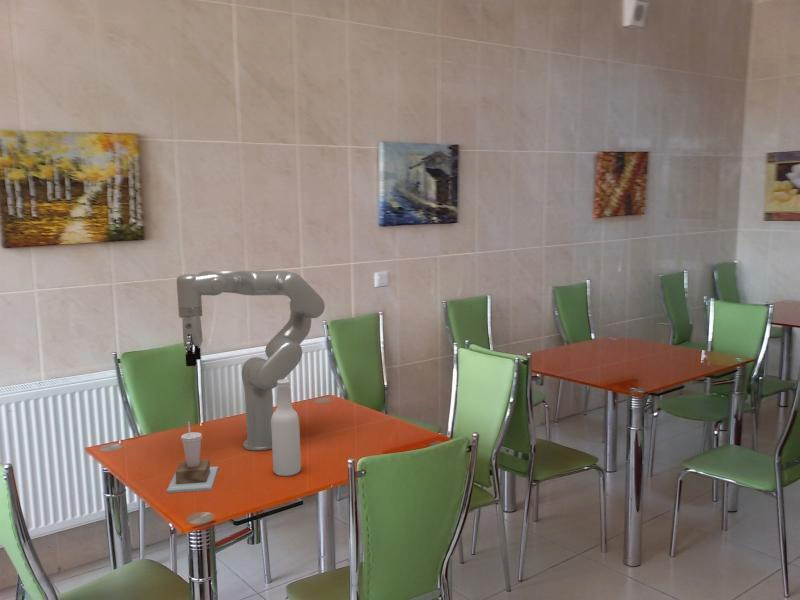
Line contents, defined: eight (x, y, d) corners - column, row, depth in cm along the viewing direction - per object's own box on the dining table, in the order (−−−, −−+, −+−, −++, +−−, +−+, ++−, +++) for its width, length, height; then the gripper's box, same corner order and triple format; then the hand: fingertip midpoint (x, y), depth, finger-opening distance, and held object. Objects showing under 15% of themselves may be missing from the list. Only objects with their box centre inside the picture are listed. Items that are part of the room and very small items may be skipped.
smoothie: (184, 462, 233) (181, 419, 231) (205, 461, 234) (202, 418, 232) (181, 469, 227) (178, 425, 225) (202, 468, 227) (199, 424, 226)
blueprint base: (218, 468, 240) (217, 454, 240) (211, 490, 222) (210, 474, 222) (177, 471, 239) (176, 457, 238) (166, 493, 221) (165, 477, 220)
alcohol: (278, 479, 230) (274, 385, 226) (269, 470, 238) (265, 379, 234) (305, 473, 234) (301, 381, 230) (295, 465, 242) (291, 375, 238)
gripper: (198, 315, 235) (201, 367, 237) (205, 307, 252) (208, 356, 255) (174, 316, 234) (177, 369, 237) (183, 308, 251) (186, 357, 254)
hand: (193, 362), depth 246 cm, fingers open, 9 cm apart
